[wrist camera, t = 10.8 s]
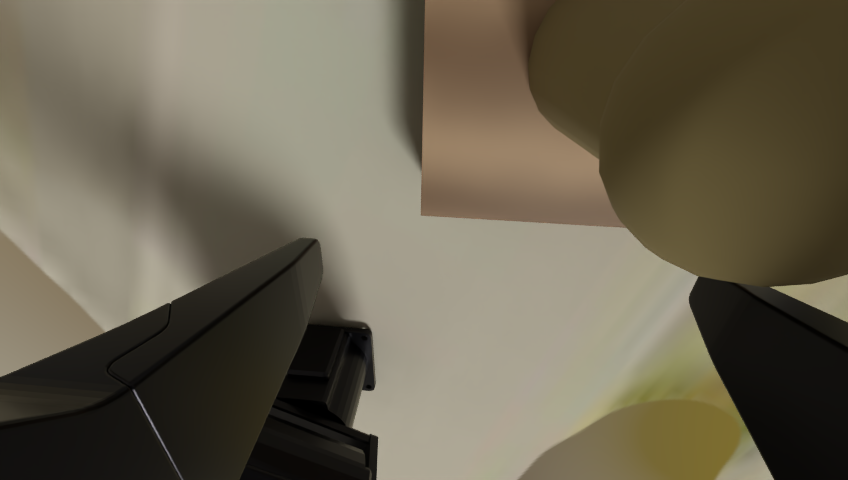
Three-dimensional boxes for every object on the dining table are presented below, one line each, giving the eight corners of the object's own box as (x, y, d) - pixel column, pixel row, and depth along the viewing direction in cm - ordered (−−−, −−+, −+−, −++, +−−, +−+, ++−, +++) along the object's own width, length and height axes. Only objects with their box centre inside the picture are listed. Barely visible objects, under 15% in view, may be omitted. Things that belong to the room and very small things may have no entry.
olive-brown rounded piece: (495, 83, 15) (512, 216, 6) (617, -87, 12) (1064, -380, 3) (609, 169, 16) (774, 393, 7) (746, 34, 13) (1365, 112, 4)
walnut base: (684, 196, 21) (726, 233, 18) (427, 182, 22) (420, 215, 18) (835, -167, 13) (960, -223, 10) (437, -166, 14) (429, -218, 11)
